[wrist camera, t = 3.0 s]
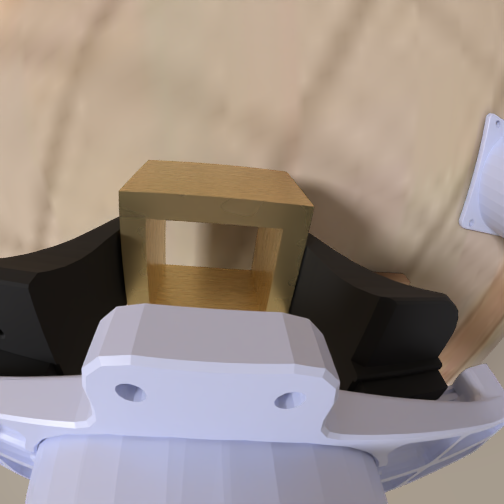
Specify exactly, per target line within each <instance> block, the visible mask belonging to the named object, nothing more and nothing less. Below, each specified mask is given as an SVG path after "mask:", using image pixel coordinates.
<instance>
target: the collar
mask: <svg viewBox="0 0 504 504" xmlns="http://www.w3.org/2000/svg"><path fill="white" fill-rule="evenodd" d="M313 210H314V206H313V204H312V203H311V202H310V201H309V199H308V198H307V197H306V195H305V194H304V193H303V192H302V190H301V189H300V188H299V187H298V185H297V184H296V183H295V182H294V180H293V179H292V178H291V177H290V175H289V174H288V173H287V172H284V171H276V170H268V169H259V168H250V167H241V166H230V165H219V164H207V163H193V162H178V161H158V160H148V161H147V162H146V163H145V164H144V165H143V166H142V167H141V168H140V169H139V170H138V171H137V172H136V173H135V174H134V175H133V176H132V177H131V179H130V180H129V181H128V182H127V183H126V184H125V185H124V186H123V187H122V188H121V189H120V190H119V216H120V235H121V249H122V261H123V271H124V281H125V290H126V298H127V305H135V304H143V303H148V304H158V305H169V306H181V307H194V308H208V309H224V310H242V311H263V312H283V313H287V314H288V312H289V308H290V304H291V300H292V297H293V293H294V289H295V285H296V281H297V277H298V273H299V269H300V265H301V261H302V257H303V253H304V249H305V245H306V241H307V236H308V232H309V228H310V223H311V219H312V215H313ZM166 220H173V221H187V222H201V223H215V224H228V225H241V226H253V227H258V232H257V238H256V244H255V250H254V257H253V263H252V269H251V270H239V269H223V268H208V267H194V266H180V265H166V264H165V227H166Z"/></svg>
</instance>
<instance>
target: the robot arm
mask: <svg viewBox="0 0 504 504" xmlns="http://www.w3.org/2000/svg"><path fill="white" fill-rule="evenodd" d="M459 225H460V226H461V227H463V228H465V229H470V230H474V231H479V232H484V233H489V234H493V235H498V236H501V237H503V238H504V120H503V119H501V118H500V117H498V116H497V115H495V114H492V113H489V114H488V115H487V116H486V121H485V126H484V131H483V136H482V141H481V145H480V150H479V154H478V158H477V162H476V166H475V170H474V173H473V177H472V180H471V184H470V187H469V191H468V194H467V197H466V200H465V203H464V207H463V210H462V213H461V216H460V218H459ZM457 321H458V310H457V308H456V306H455V304H454V303H453V302H452V301H451V300H450V298H449V297H448V296H447V295H445V294H443V293H438V292H433V291H429V290H424V289H420V288H416V287H413V286H409V285H406V284H403V283H400V282H397V281H394V280H391V279H389V278H386V277H384V276H381V275H379V274H377V273H374V272H372V271H370V270H368V269H366V268H364V267H362V266H360V265H358V264H356V263H354V262H353V261H351V260H349V259H348V258H346V257H344V256H343V255H341V254H339V253H338V252H336V251H335V250H333V249H332V248H330V247H329V246H327V245H326V244H324V243H323V242H321V241H320V240H319V239H317V238H316V237H314V236H313V235H311V234H310V233H308V236H307V241H306V245H305V249H304V253H303V257H302V261H301V265H300V269H299V273H298V277H297V281H296V285H295V289H294V293H293V297H292V300H291V304H290V308H289V312H288V314H287V313H283V312H263V311H242V310H224V309H208V308H194V307H181V306H169V305H158V304H148V303H143V304H135V305H127V298H126V290H125V281H124V271H123V261H122V249H121V235H120V217H117V218H115V219H113V220H111V221H109V222H107V223H105V224H103V225H101V226H99V227H97V228H95V229H93V230H91V231H89V232H87V233H85V234H83V235H81V236H79V237H77V238H74V239H72V240H70V241H67V242H65V243H62V244H59V245H56V246H54V247H50V248H47V249H43V250H40V251H36V252H33V253H29V254H24V255H19V256H13V257H7V258H0V465H2V466H4V467H6V468H7V469H9V470H11V471H13V472H15V473H17V474H19V475H21V476H23V477H25V478H28V479H29V480H30V482H29V487H28V491H27V496H26V501H25V504H388V502H387V499H386V495H385V492H388V491H391V490H393V489H396V488H398V487H401V486H403V485H406V484H408V483H411V482H413V481H415V480H417V479H420V478H422V477H424V476H426V475H429V474H431V473H433V472H435V471H437V470H439V469H441V468H443V467H445V466H448V465H450V464H452V463H454V462H456V461H458V460H459V459H461V458H464V457H465V456H467V455H469V454H471V453H473V452H475V451H476V450H477V449H478V448H479V447H481V446H482V445H483V444H484V443H485V442H487V441H488V440H489V439H490V438H491V437H492V436H493V435H494V434H496V433H497V432H498V431H499V430H500V429H501V428H502V427H503V426H504V390H503V388H502V386H501V385H500V383H499V382H498V380H497V379H496V377H495V376H494V374H493V373H492V371H491V370H490V368H489V367H488V365H487V364H480V365H477V366H473V367H469V368H467V369H465V370H464V371H462V372H461V373H460V374H459V375H458V377H457V378H456V380H455V381H454V382H453V385H450V386H447V384H446V383H445V381H444V379H443V377H442V376H441V374H440V372H439V371H438V370H439V369H440V368H441V367H442V363H441V361H440V359H439V358H438V356H439V355H440V353H441V352H442V350H443V349H444V347H445V345H446V344H447V342H448V341H449V339H450V338H451V336H452V334H453V332H454V330H455V328H456V324H457Z"/></svg>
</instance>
